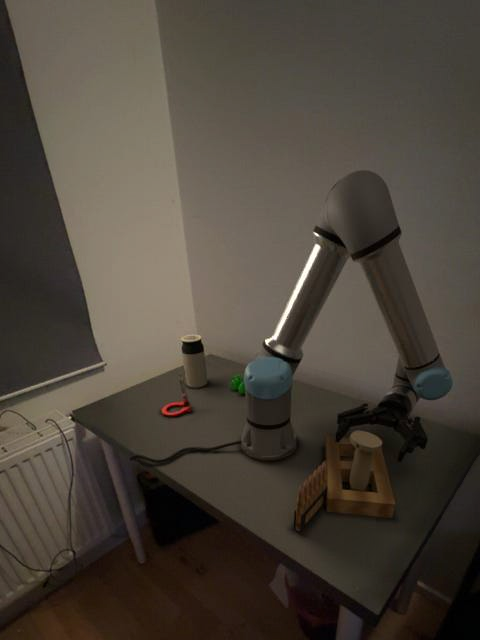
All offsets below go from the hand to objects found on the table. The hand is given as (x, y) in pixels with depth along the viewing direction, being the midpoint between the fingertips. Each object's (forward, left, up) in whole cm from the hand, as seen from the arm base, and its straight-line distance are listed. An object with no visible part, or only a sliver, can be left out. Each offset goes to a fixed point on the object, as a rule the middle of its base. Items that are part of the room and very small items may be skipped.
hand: (367, 446), depth 75 cm
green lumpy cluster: (-34, +49, -11) cm, 61 cm away
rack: (-1, +2, -11) cm, 11 cm away
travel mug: (-55, +51, -11) cm, 76 cm away
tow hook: (-56, +30, -11) cm, 65 cm away
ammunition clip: (-11, -11, -11) cm, 19 cm away
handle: (-1, -3, -11) cm, 12 cm away
